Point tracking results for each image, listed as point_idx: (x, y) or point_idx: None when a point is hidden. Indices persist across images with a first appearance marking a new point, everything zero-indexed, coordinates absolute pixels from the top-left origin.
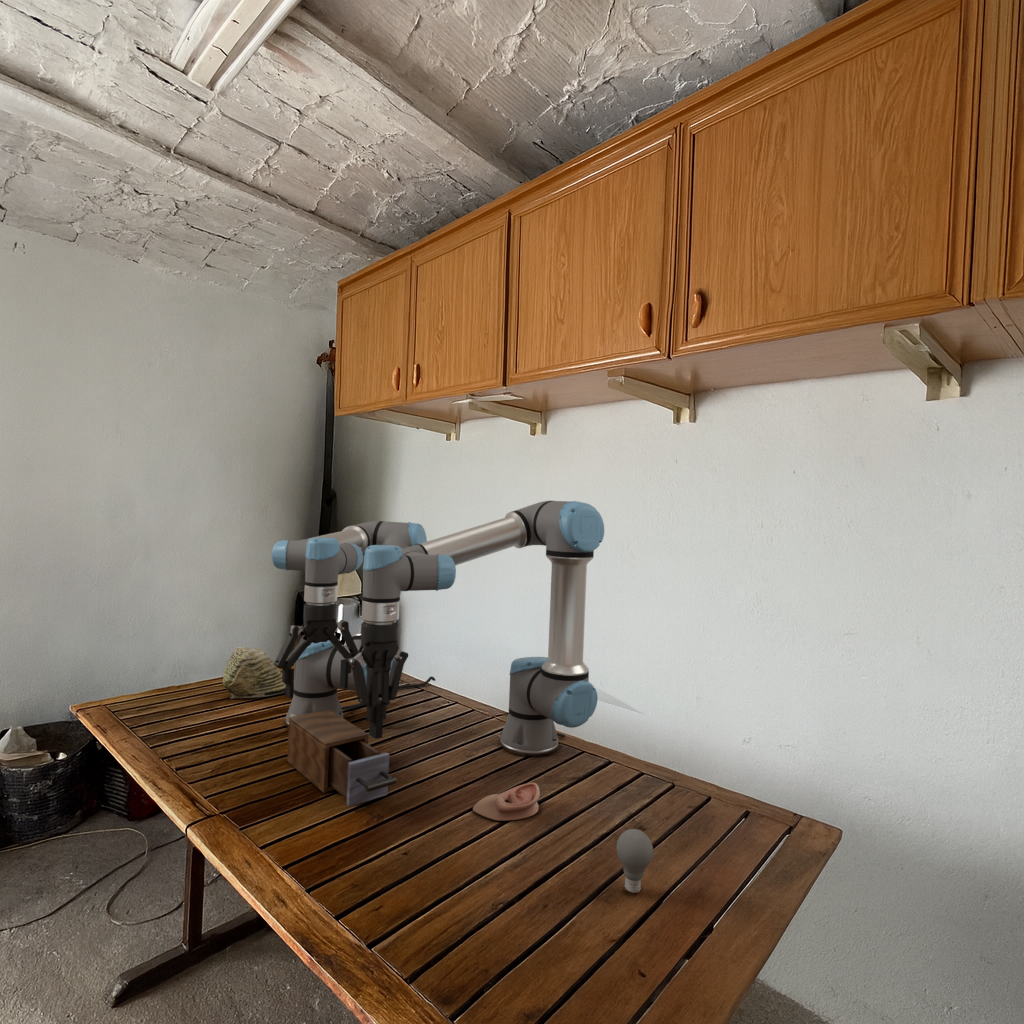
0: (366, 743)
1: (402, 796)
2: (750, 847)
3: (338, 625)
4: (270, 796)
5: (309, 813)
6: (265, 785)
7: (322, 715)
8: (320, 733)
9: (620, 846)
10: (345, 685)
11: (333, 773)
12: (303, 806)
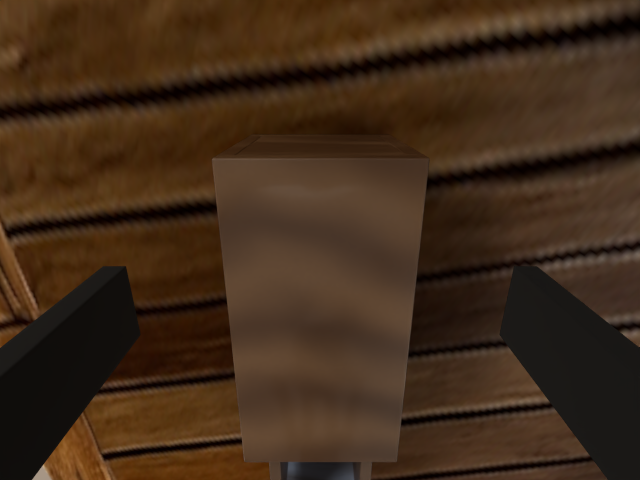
0: (371, 466)
1: None
2: None
3: None
4: (155, 309)
5: (209, 408)
6: (155, 251)
7: (356, 226)
8: (263, 390)
9: None
10: (513, 350)
11: None
12: (207, 381)
